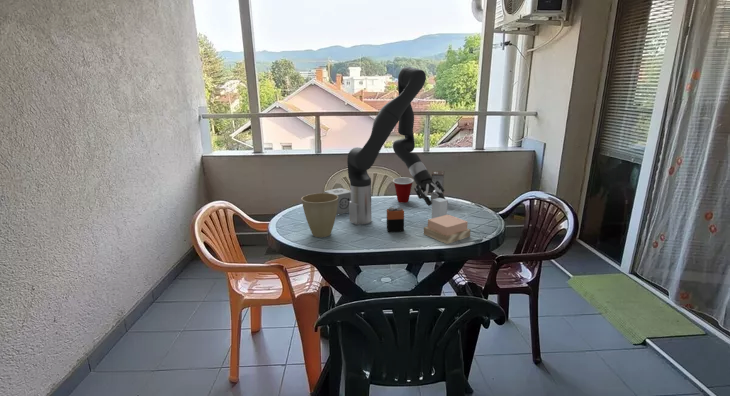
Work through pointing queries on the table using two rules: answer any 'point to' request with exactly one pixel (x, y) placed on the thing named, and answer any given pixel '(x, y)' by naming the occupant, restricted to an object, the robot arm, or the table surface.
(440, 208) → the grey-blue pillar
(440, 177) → the coffee box
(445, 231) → the terracotta slab
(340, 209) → the icon cube
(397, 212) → the battery
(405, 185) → the plastic cup
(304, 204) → the plant pot
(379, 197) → the table surface
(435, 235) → the birch slab
